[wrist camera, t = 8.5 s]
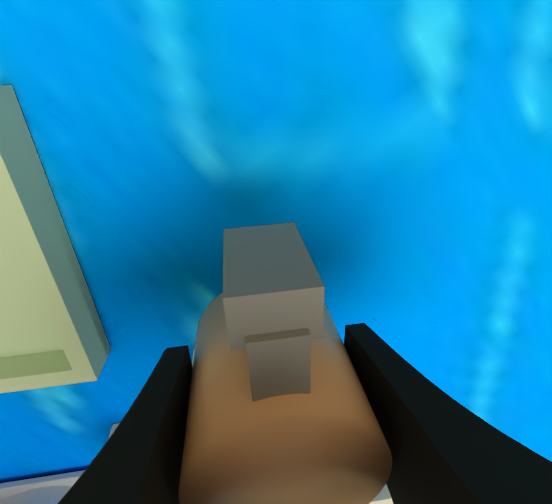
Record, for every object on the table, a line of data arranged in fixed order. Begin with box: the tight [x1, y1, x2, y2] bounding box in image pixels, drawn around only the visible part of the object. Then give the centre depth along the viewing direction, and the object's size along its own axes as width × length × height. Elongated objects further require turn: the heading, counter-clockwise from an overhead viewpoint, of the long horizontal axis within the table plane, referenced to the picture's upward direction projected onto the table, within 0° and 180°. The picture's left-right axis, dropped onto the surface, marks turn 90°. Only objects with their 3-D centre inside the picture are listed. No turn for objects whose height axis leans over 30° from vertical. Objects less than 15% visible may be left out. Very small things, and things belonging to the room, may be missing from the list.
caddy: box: [179, 222, 392, 504], centre depth 9 cm, size 5×7×5 cm, turn 3°
